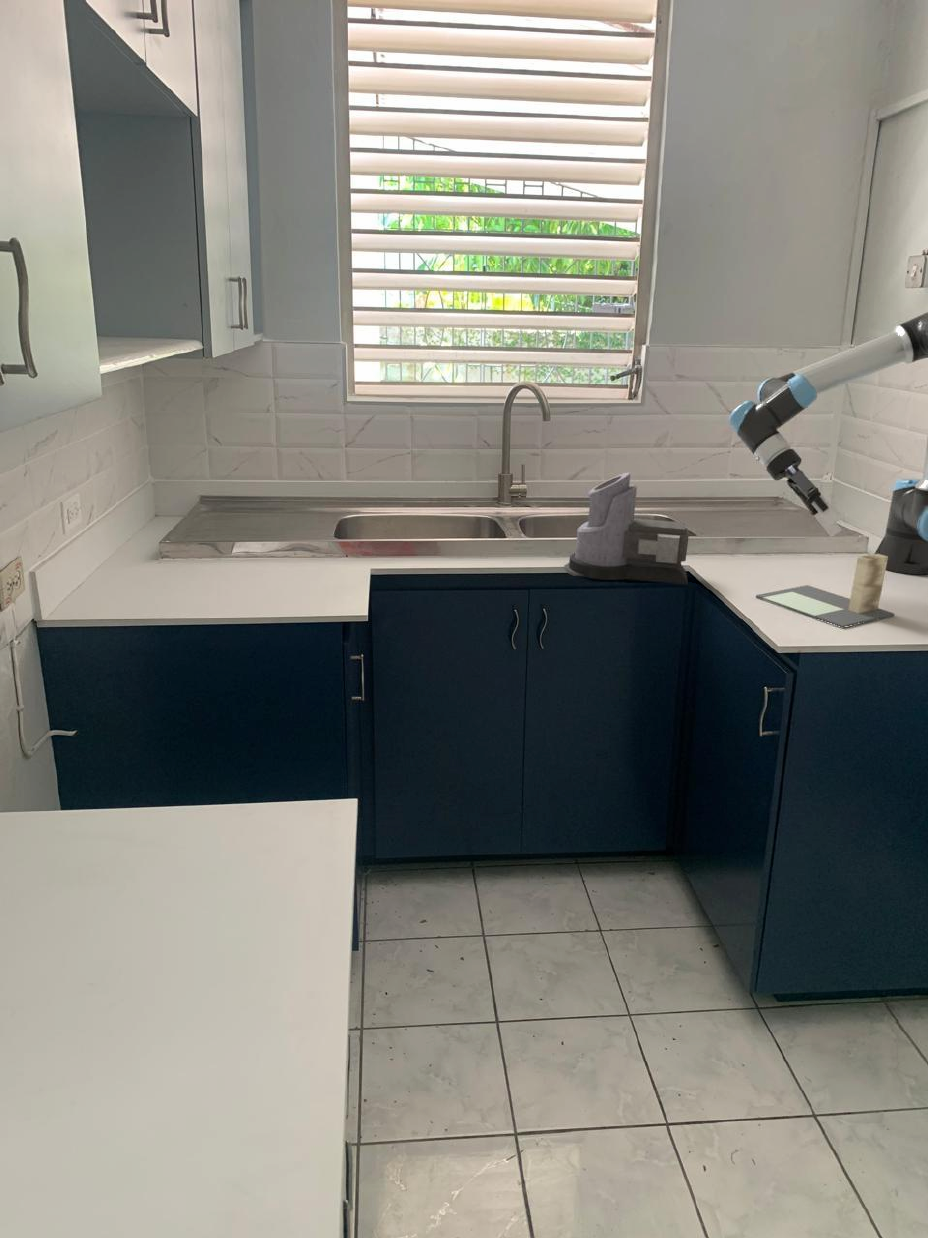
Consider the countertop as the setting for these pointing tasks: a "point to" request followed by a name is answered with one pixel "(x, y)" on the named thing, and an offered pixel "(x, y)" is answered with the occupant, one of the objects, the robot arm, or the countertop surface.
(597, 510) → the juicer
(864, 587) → the kitchen sponge
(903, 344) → the robot arm
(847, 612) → the mat
